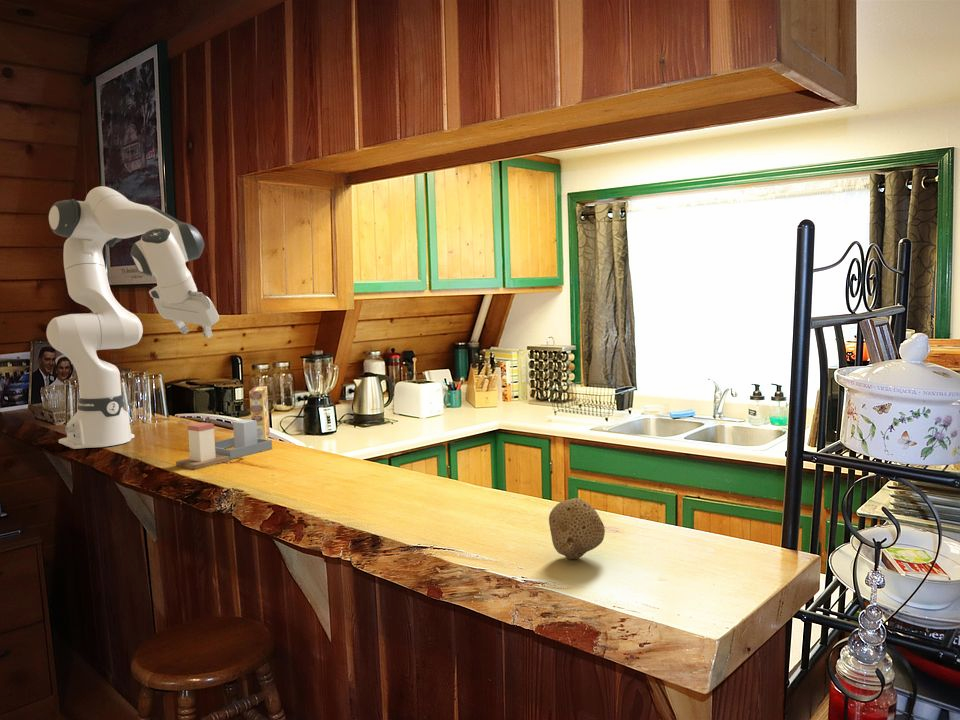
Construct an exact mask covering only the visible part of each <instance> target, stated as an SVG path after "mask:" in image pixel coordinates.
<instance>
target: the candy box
mask: <svg viewBox="0 0 960 720" xmlns="http://www.w3.org/2000/svg"><path fill="white" fill-rule="evenodd" d="M248 392H249V394H248V395H249V409H250V420H255V421H257V438H260V439H267V440H268V439H269V437H270V436H271V432H270V431H271V429H270V417H269V416H270V415H269V401H268V399H269V398H268V386H254V387H253V388H251V389H250V390H249V391H248Z"/></svg>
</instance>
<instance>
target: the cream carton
mask: <svg viewBox="0 0 960 720" xmlns="http://www.w3.org/2000/svg"><path fill="white" fill-rule="evenodd" d="M187 431H188V447H189V458H190V460H194V461H200V462H202V461H206V460H210V459H214V458H216V455H215V442H216V441H215V424H214V423H210V422H198V423H193V424H188V425H187Z"/></svg>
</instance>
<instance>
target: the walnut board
mask: <svg viewBox="0 0 960 720" xmlns="http://www.w3.org/2000/svg"><path fill="white" fill-rule="evenodd" d="M215 455H216V458H214V459H210V460H206V461H202V462H200V461H194V460H190V457H189V458H185V459H181V460H176V461H175V465H176V467H180V468H185V469H190V470H195V469H196V470H199V469H198V468H200V469H203V468H202V467H204V468H207V467H206V466H208V467H210V466H209V465H212V466H214V465H213V464H216V465H218V464H217V463H220V464H223V463H222V462H224V463H227V461H228V462H230V461H231V459H230V457H229V456H223V455H217V454H215Z"/></svg>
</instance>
